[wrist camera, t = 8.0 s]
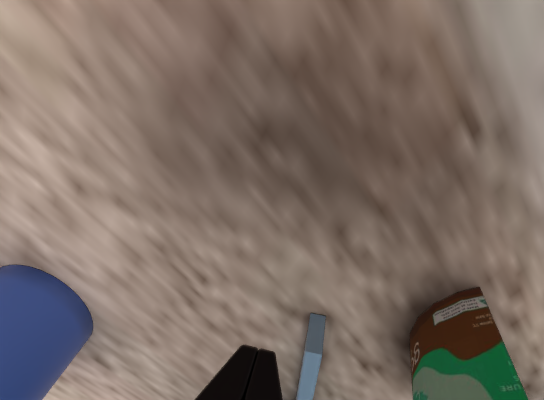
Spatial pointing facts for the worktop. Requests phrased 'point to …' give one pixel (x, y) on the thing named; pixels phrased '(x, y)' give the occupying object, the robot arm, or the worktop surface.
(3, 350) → the water bottle
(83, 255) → the worktop surface
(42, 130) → the worktop surface
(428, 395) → the food container
